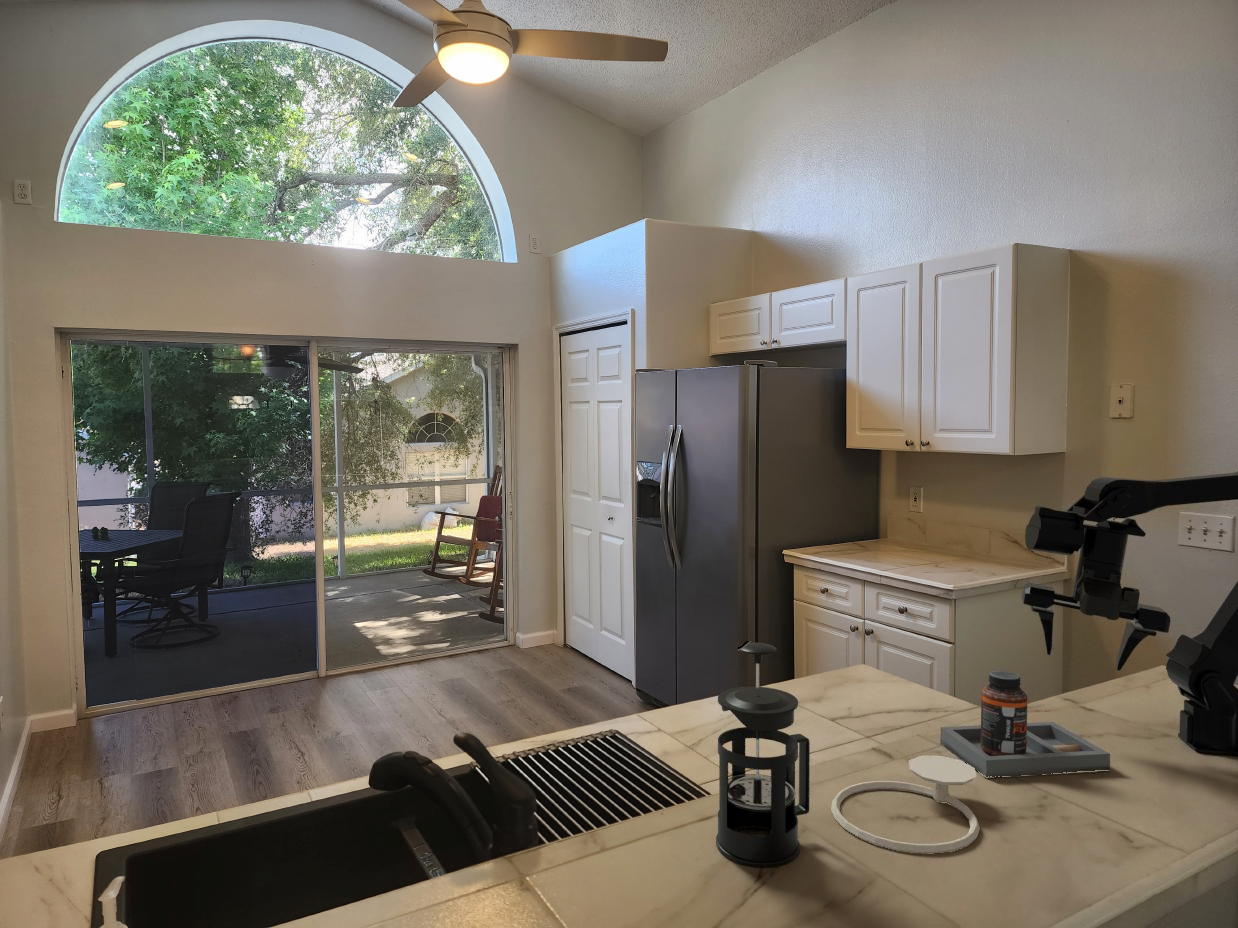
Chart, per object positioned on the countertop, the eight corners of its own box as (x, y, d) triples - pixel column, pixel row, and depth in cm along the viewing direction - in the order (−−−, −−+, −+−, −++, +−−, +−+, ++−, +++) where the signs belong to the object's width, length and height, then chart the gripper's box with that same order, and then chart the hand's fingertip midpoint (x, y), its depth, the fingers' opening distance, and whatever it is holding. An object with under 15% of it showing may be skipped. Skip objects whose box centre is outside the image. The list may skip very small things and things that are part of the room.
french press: (736, 876, 83) (736, 661, 82) (696, 834, 92) (696, 639, 91) (829, 854, 87) (830, 650, 86) (783, 816, 96) (783, 629, 95)
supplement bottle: (1020, 764, 108) (1021, 683, 108) (975, 753, 112) (976, 675, 112) (1031, 751, 113) (1032, 673, 112) (987, 740, 117) (988, 665, 116)
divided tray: (1052, 737, 120) (1052, 721, 120) (1109, 771, 108) (1110, 753, 108) (940, 743, 118) (940, 727, 118) (986, 778, 106) (986, 760, 106)
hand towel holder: (801, 777, 98) (904, 739, 109) (802, 812, 98) (904, 770, 109) (922, 833, 84) (1025, 783, 95) (922, 874, 84) (1025, 819, 95)
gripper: (1035, 554, 114) (1017, 658, 115) (1188, 581, 107) (1167, 692, 108) (1030, 546, 124) (1013, 642, 125) (1169, 571, 117) (1150, 672, 118)
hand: (1082, 661), depth 119 cm, fingers open, 9 cm apart
